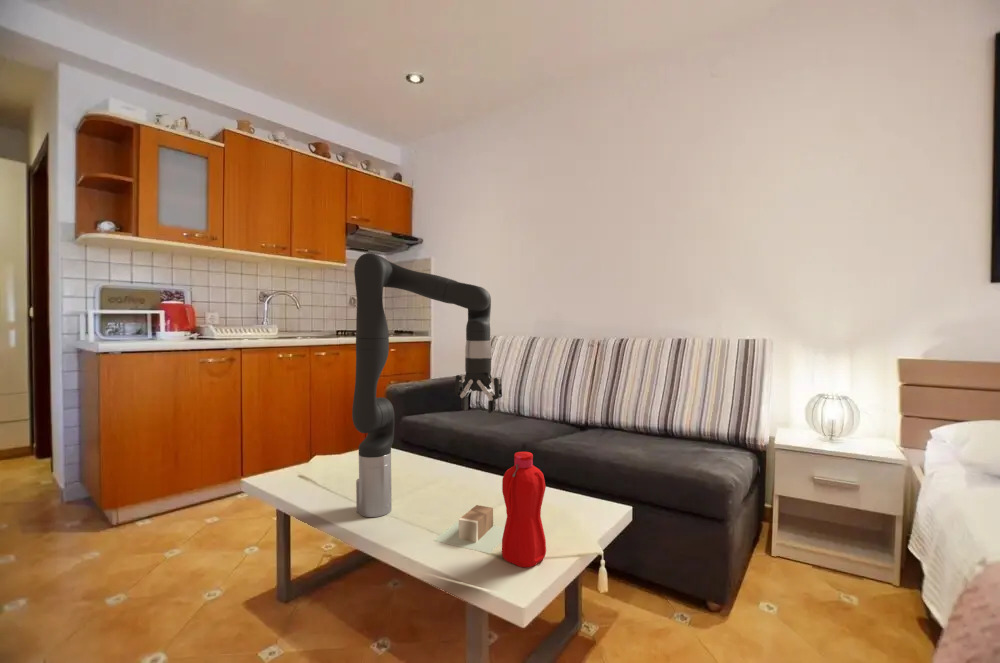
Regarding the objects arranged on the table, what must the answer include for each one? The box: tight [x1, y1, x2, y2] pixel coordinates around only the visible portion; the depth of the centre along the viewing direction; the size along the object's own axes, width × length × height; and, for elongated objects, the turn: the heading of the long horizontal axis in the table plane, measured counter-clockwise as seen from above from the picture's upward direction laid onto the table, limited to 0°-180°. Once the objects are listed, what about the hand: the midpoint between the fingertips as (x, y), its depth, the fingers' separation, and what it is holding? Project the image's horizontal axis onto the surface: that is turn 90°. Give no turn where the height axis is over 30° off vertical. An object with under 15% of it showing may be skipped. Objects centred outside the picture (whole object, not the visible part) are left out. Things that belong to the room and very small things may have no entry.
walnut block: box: [458, 504, 494, 542], centre depth 120 cm, size 5×5×10 cm
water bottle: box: [501, 451, 547, 568], centre depth 107 cm, size 9×11×25 cm
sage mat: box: [433, 519, 505, 555], centre depth 119 cm, size 16×14×1 cm
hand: (478, 411), depth 133 cm, fingers open, 8 cm apart
